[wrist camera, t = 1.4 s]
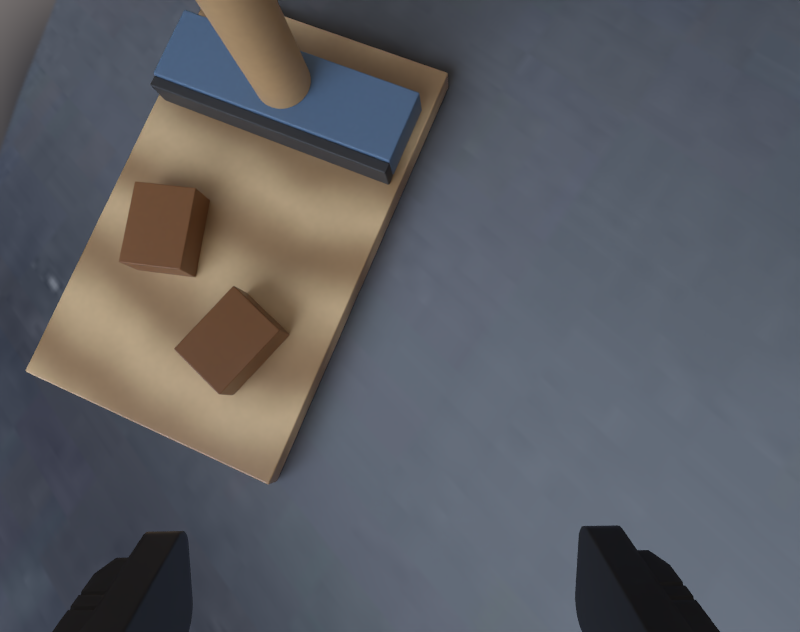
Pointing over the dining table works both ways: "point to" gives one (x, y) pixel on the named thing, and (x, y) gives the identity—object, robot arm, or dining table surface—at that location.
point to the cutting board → (232, 272)
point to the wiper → (284, 88)
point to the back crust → (164, 229)
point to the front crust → (231, 342)
